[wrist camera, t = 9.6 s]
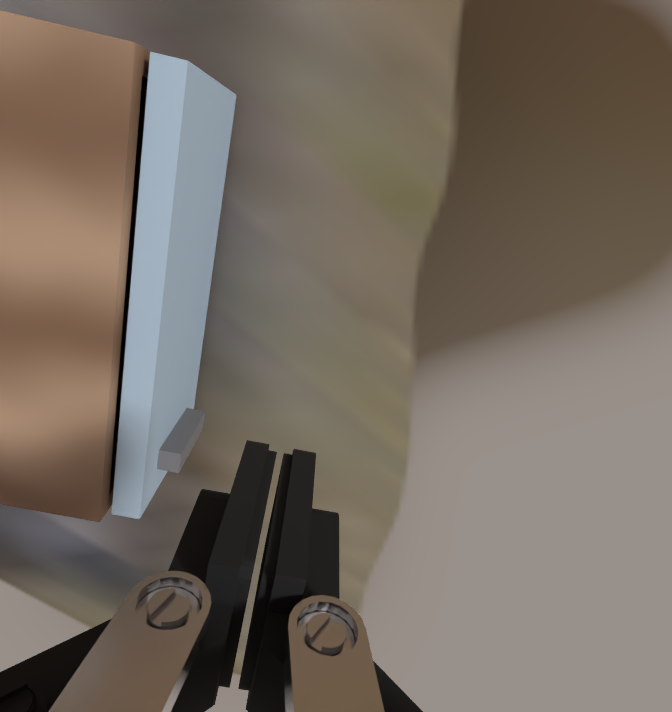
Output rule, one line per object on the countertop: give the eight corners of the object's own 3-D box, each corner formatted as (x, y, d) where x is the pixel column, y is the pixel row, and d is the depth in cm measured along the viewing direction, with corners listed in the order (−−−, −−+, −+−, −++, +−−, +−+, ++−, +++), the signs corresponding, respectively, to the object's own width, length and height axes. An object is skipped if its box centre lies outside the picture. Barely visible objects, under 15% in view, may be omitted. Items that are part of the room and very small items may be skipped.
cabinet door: (210, 88, 24) (150, 51, 16) (257, 100, 24) (219, 68, 17) (169, 427, 30) (111, 514, 22) (207, 434, 30) (162, 523, 22)
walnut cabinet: (-55, 25, 24) (-276, -55, 15) (207, 86, 24) (134, 42, 16) (-43, 383, 30) (-198, 468, 21) (167, 423, 30) (99, 522, 22)
